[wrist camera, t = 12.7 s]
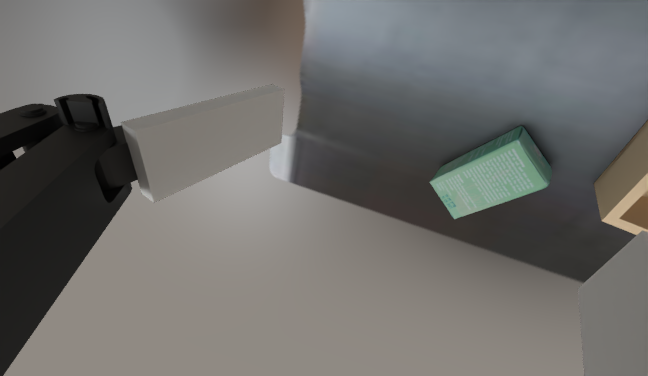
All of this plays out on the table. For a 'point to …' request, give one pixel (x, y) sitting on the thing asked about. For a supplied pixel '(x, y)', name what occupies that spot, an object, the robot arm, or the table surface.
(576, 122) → the table surface
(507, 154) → the box
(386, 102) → the table surface
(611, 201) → the carton
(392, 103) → the table surface
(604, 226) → the table surface
